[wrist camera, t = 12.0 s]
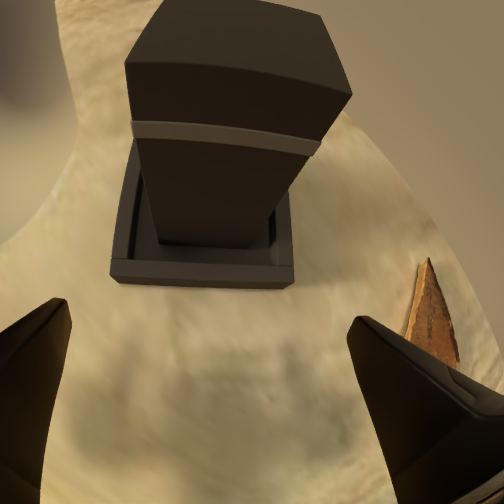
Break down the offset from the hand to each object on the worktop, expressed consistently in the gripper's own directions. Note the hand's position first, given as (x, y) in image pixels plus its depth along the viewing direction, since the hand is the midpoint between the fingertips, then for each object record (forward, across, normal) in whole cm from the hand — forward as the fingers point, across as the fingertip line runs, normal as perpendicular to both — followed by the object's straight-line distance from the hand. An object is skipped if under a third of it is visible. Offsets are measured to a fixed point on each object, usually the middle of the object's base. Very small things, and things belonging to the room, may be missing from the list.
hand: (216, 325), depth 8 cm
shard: (+6, -17, +7) cm, 19 cm away
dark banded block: (+12, 0, 0) cm, 12 cm away
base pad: (+12, 0, +1) cm, 12 cm away
